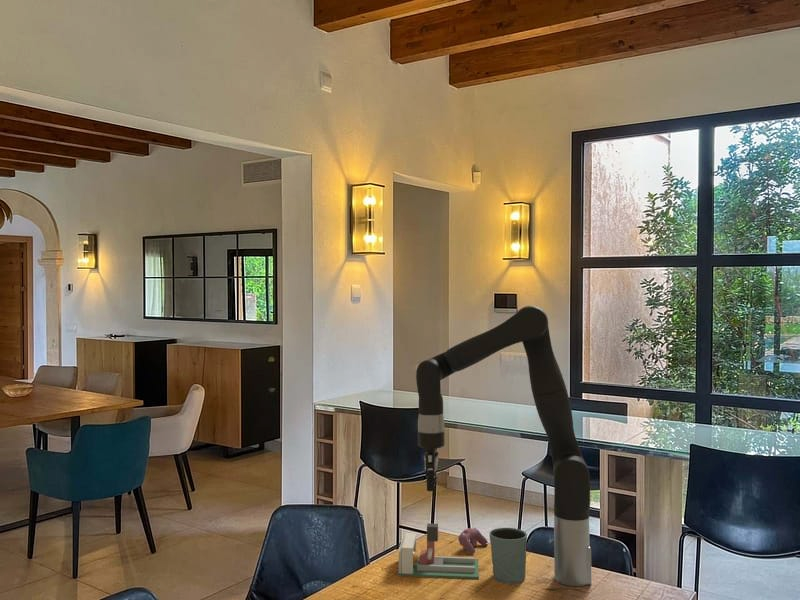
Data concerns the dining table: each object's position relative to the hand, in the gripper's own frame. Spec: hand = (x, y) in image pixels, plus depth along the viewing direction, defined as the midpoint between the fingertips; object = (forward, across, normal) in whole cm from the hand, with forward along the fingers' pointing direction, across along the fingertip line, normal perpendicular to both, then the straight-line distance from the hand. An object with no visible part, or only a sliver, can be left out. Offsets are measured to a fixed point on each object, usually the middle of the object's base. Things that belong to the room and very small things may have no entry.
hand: (431, 487), depth 186 cm
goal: (+23, 0, +7) cm, 24 cm away
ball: (+20, 0, +6) cm, 21 cm away
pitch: (+23, 0, -2) cm, 23 cm away
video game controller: (+23, +17, -11) cm, 31 cm away
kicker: (+23, 0, 0) cm, 23 cm away
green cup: (+23, -4, -21) cm, 32 cm away
